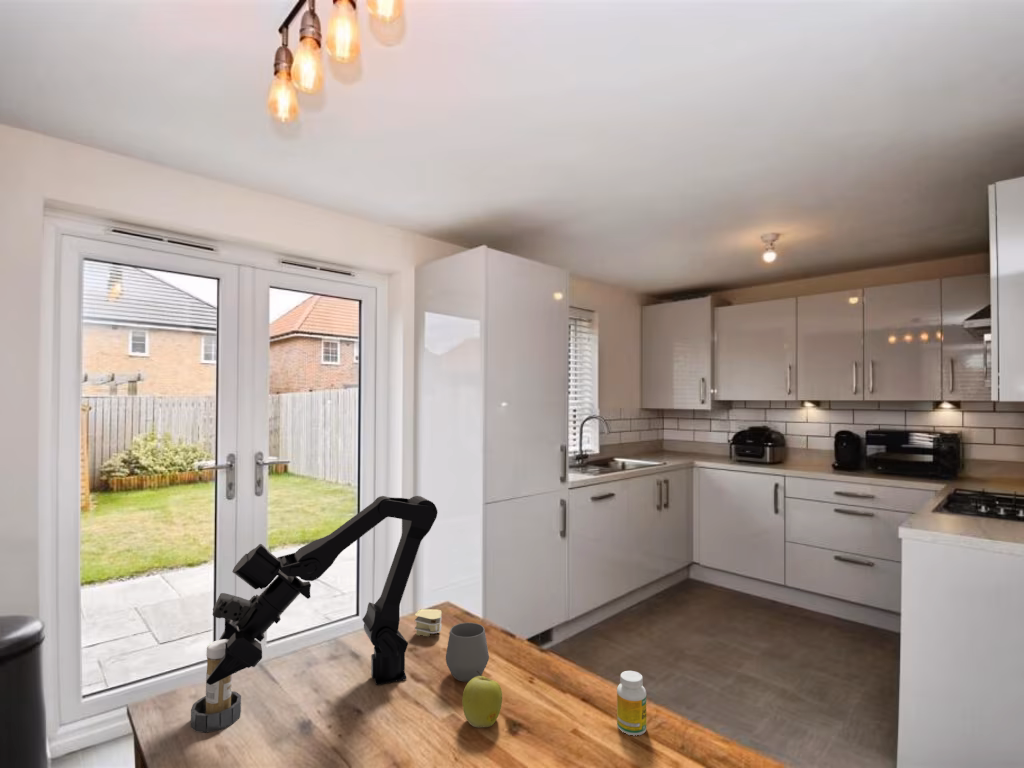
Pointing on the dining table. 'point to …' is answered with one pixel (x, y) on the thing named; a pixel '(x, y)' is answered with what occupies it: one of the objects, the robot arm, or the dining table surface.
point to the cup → (467, 651)
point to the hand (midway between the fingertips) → (208, 671)
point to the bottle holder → (215, 715)
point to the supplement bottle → (631, 704)
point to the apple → (482, 701)
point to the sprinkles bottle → (221, 690)
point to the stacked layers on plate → (428, 622)
